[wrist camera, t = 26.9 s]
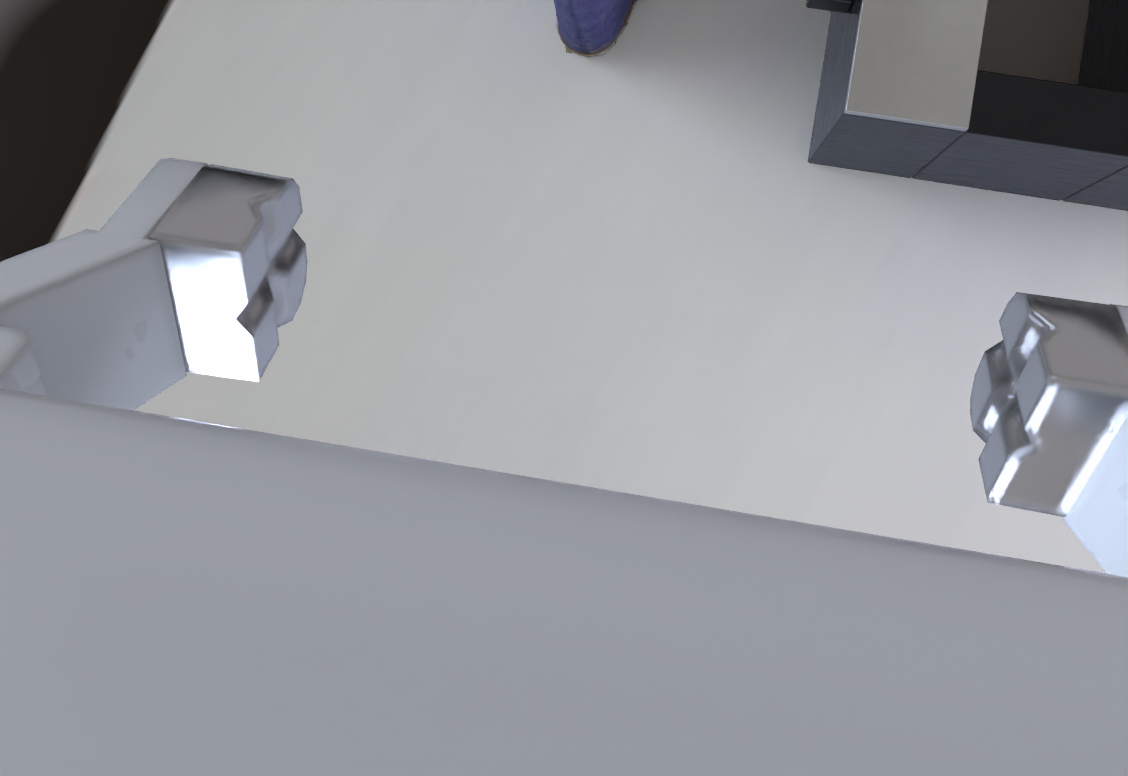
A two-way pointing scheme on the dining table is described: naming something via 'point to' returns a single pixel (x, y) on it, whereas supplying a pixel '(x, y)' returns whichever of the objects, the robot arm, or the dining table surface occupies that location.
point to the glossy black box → (970, 103)
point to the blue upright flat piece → (591, 24)
